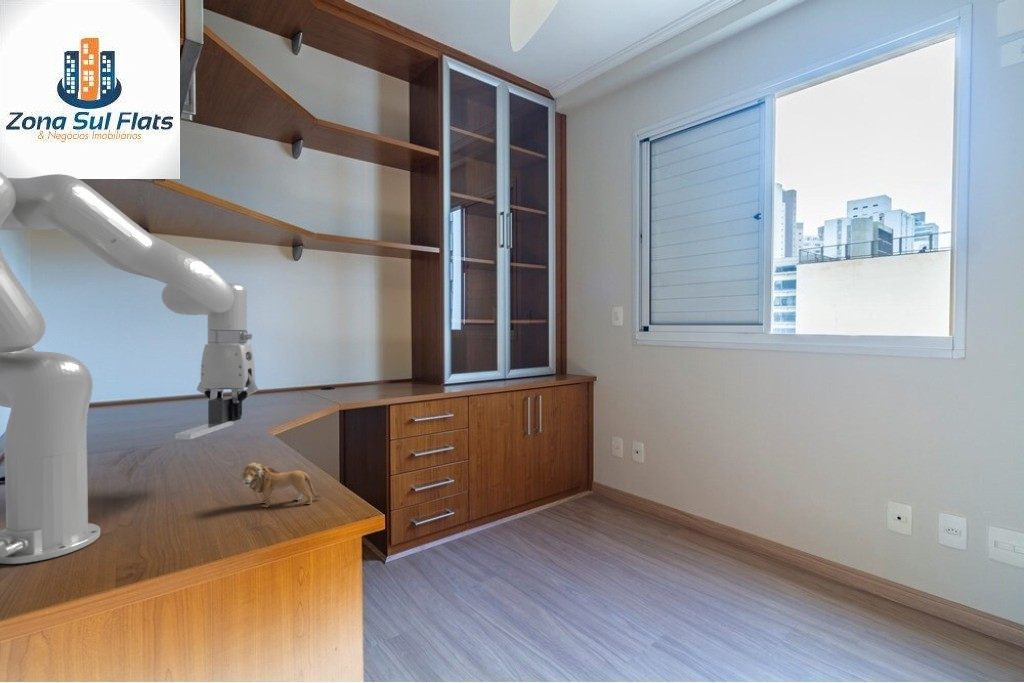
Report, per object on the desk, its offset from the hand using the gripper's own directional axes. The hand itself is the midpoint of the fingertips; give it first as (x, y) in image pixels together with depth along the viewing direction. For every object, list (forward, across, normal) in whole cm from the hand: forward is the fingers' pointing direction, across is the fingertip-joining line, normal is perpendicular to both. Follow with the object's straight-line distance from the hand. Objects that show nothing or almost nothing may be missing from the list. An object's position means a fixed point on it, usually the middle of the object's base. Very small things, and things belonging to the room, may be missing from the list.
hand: (227, 419), depth 107 cm
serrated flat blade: (+1, 0, +7) cm, 7 cm away
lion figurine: (+15, -17, +11) cm, 25 cm away
